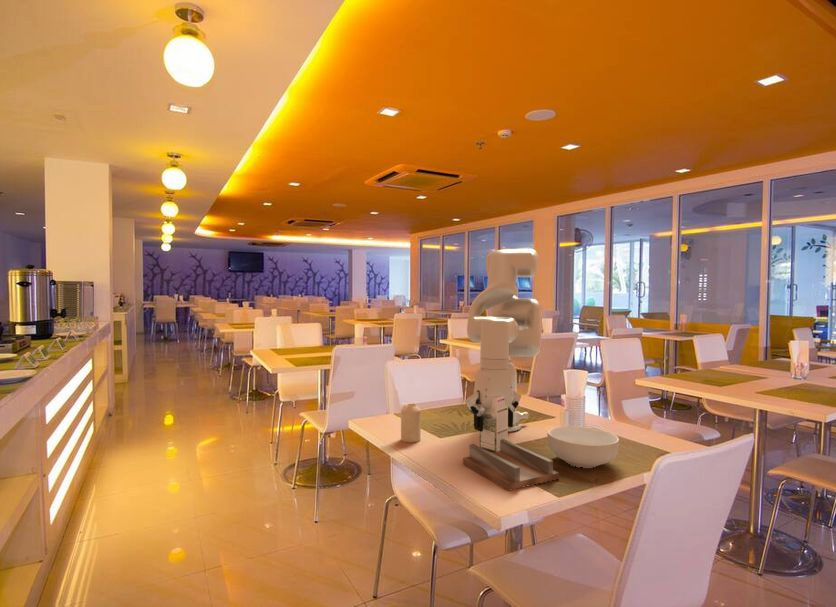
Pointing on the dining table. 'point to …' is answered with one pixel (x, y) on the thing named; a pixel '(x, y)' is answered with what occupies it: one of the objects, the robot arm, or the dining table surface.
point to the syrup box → (494, 425)
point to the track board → (511, 465)
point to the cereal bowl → (583, 445)
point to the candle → (410, 423)
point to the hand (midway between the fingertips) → (493, 428)
